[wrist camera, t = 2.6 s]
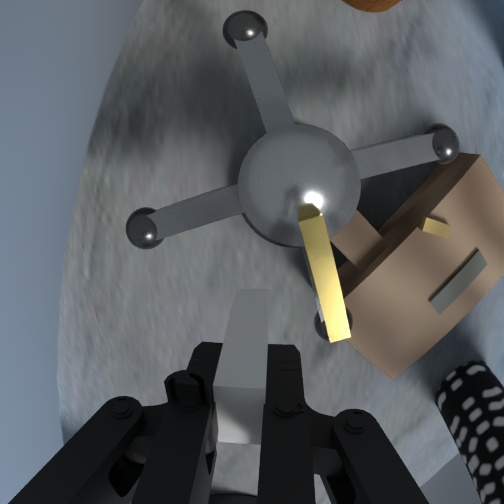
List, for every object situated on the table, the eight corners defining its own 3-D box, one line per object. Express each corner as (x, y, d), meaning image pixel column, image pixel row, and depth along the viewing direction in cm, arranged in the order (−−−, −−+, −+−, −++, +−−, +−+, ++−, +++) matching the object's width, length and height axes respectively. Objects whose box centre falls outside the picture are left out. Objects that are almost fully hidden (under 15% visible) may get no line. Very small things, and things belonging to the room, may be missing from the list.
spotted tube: (424, 396, 32) (481, 528, 13) (474, 349, 30) (558, 469, 11) (451, 417, 34) (502, 528, 15) (495, 376, 31) (564, 479, 12)
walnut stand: (378, 350, 30) (394, 384, 25) (265, 247, 28) (263, 271, 22) (499, 228, 26) (532, 244, 20) (408, 100, 23) (438, 91, 18)
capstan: (127, 95, 24) (48, 74, 13) (370, 23, 21) (422, -36, 10) (208, 319, 30) (179, 402, 19) (430, 257, 27) (497, 313, 16)
